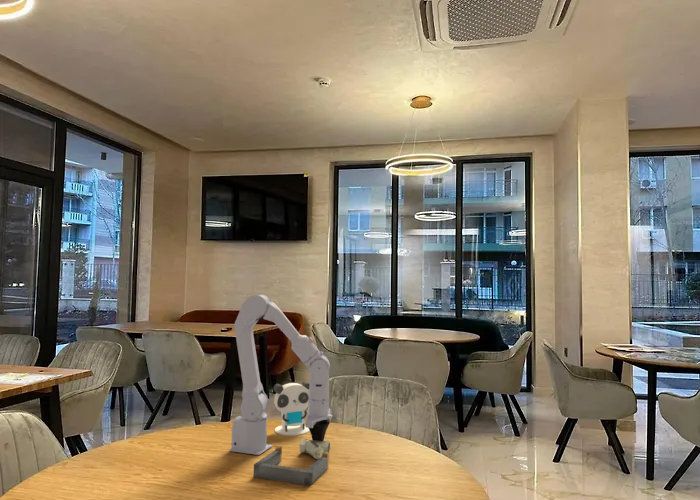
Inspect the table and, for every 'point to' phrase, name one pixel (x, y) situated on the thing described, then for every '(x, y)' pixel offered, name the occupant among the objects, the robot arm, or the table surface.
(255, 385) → the robot arm
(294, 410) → the panda figurine
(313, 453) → the pipe fitting
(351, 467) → the table surface
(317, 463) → the grey u-shaped frame
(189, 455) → the table surface
